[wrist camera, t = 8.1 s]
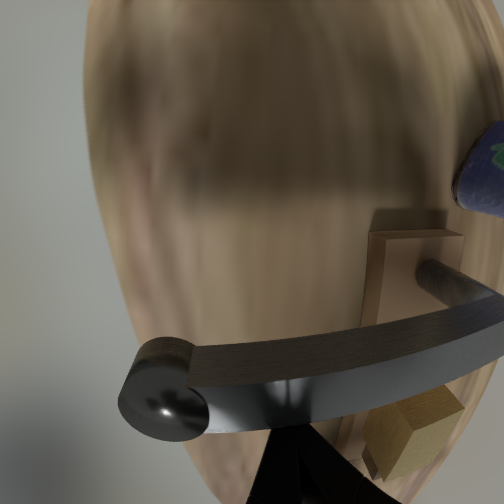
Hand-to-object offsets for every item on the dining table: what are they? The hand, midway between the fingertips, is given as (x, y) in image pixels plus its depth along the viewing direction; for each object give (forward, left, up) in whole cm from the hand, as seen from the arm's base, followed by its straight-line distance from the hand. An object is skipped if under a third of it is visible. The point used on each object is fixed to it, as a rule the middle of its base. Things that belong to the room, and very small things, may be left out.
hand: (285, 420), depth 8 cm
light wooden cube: (-8, -9, -6) cm, 14 cm away
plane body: (-6, -9, -8) cm, 14 cm away
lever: (+2, -3, -6) cm, 7 cm away
